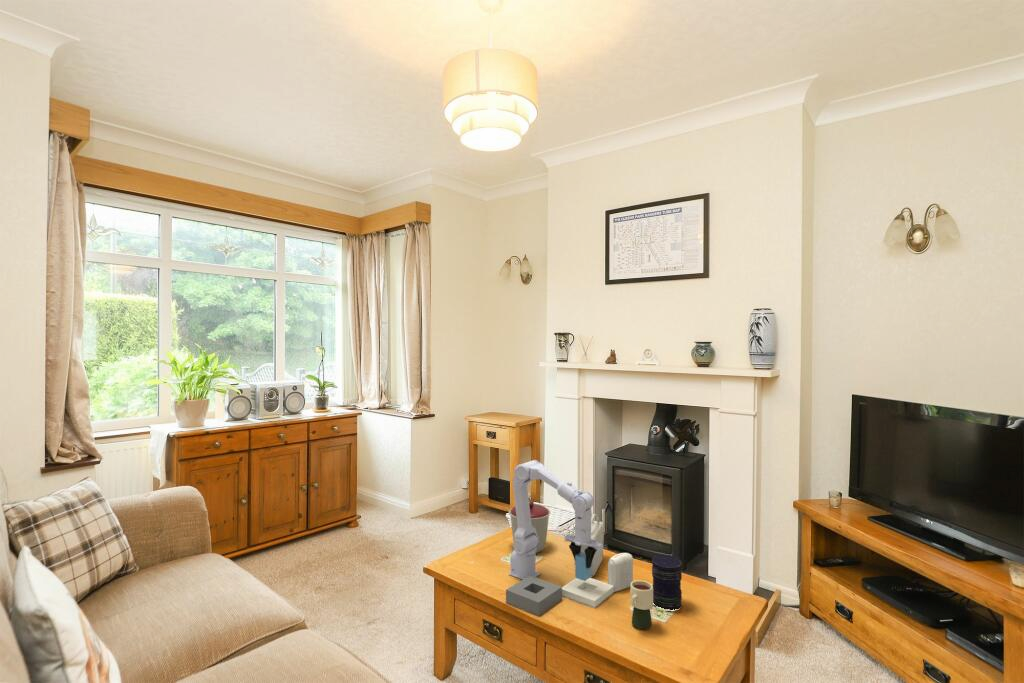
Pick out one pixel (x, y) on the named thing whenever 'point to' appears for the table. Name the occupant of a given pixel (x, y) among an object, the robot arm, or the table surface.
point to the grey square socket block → (534, 595)
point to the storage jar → (667, 582)
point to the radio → (597, 536)
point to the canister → (534, 522)
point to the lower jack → (587, 591)
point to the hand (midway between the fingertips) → (583, 565)
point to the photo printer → (620, 571)
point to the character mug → (641, 603)
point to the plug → (581, 567)
